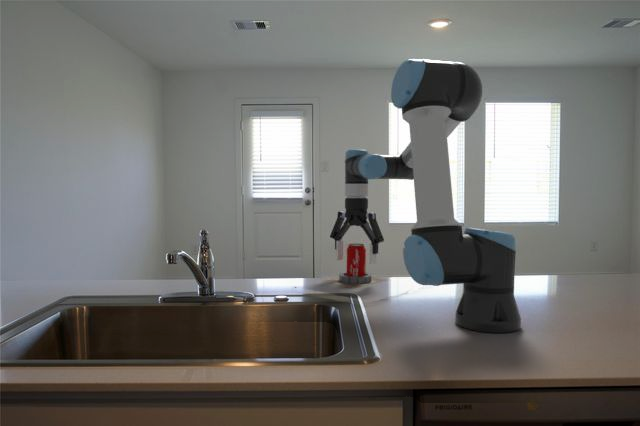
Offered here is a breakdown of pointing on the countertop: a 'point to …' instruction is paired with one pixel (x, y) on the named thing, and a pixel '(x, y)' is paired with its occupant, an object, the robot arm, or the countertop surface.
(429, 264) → the robot arm
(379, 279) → the walnut base board
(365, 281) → the gray segmented ring
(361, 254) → the soda can
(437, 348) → the countertop surface
